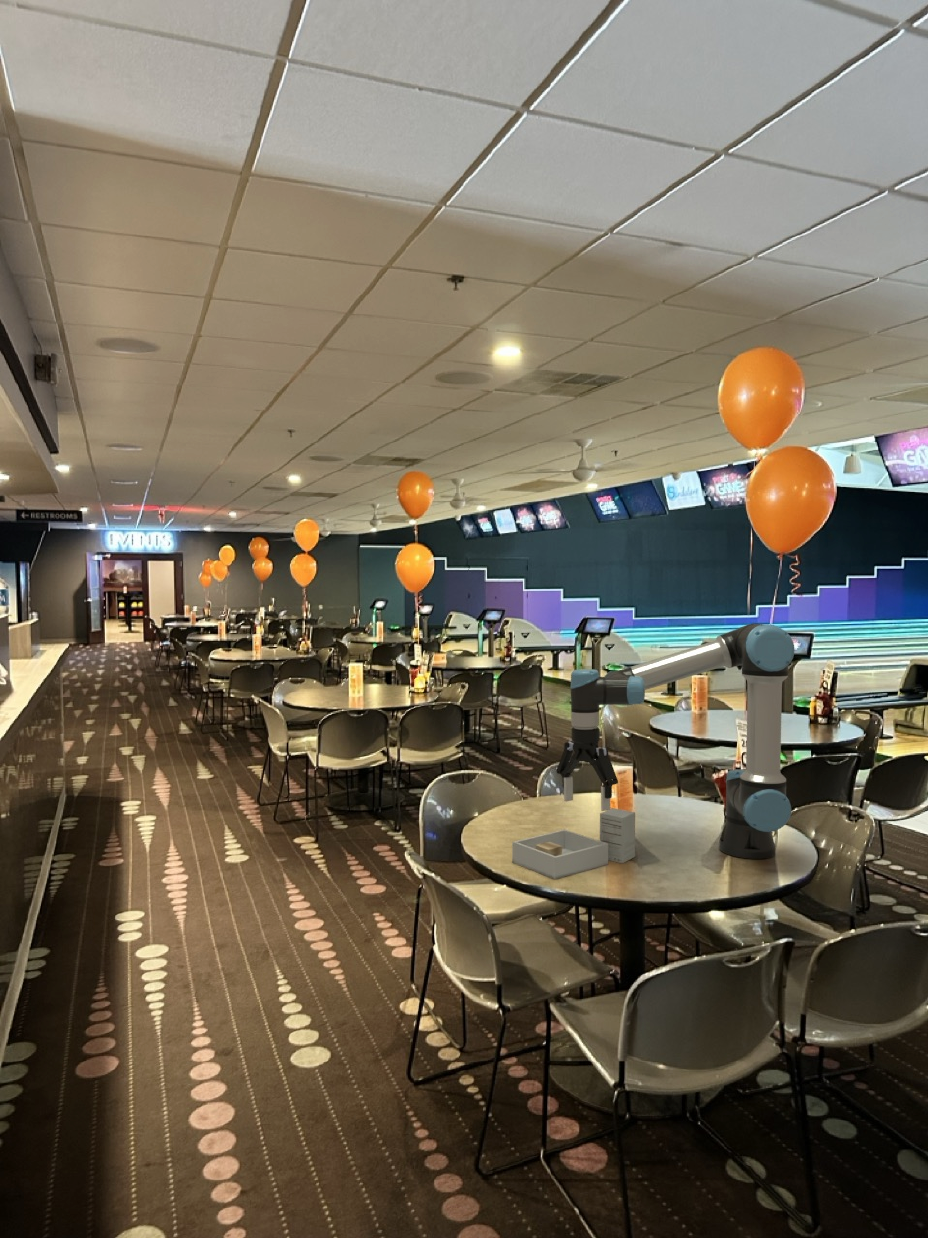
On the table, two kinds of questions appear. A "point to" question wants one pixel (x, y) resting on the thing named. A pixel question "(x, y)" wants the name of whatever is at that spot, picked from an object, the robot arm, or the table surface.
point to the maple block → (550, 848)
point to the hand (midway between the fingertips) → (586, 805)
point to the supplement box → (618, 834)
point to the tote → (574, 858)
